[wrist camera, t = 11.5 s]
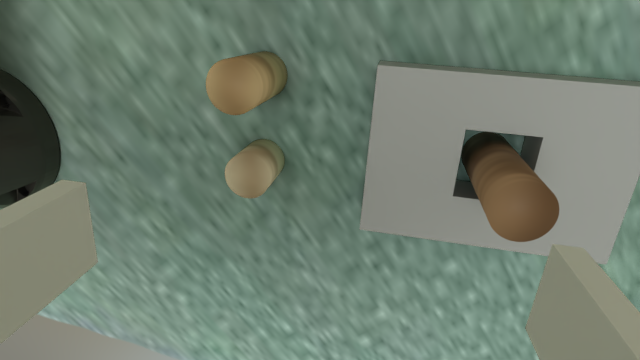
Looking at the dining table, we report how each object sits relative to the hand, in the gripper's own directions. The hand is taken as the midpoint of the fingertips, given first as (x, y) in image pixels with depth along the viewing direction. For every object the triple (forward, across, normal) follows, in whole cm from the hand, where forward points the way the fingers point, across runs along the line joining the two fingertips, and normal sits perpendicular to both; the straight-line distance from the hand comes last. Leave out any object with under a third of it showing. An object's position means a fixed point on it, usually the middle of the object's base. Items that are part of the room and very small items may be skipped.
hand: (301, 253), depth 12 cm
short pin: (+27, -8, -7) cm, 29 cm away
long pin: (+26, +12, -4) cm, 29 cm away
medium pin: (+27, -8, +1) cm, 28 cm away
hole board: (+26, +12, -4) cm, 29 cm away
